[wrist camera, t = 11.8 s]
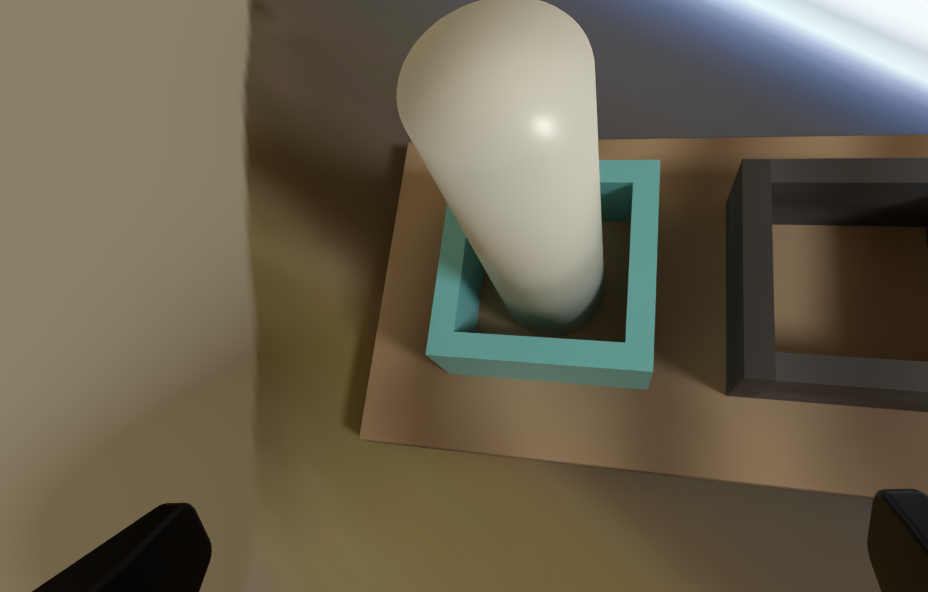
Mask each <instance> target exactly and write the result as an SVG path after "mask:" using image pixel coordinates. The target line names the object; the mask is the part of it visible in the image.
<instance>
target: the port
mask: <svg viewBox="0 0 928 592" xmlns="http://www.w3.org/2000/svg"><path fill="white" fill-rule="evenodd" d="M599 174H600V196H601V219H602V222H631V228H630V249H629V270H628V291H627V312H626V333H625V343H624V342H608V341H592V340H577V339H561V338H545V337H530V336H514V335H498V334H482V333H476V329H477V321H478V313H479V304H480V296H481V287H482V279H483V271H484V267H483V265H482V264H481V262H480V260H479V258H478V257H477V255H476V253H475V251H474V250H473V248H472V246H471V244H470V243H469V241H468V239H467V237H466V236H465V234H464V232H463V230H462V228H461V227H460V225H459V223H458V221H457V220H456V218H455V216H454V214H453V213H452V211H451V209H450V207H449V206H448V204H447V207H446V214H445V222H444V229H443V236H442V243H441V250H440V257H439V264H438V271H437V278H436V285H435V292H434V299H433V306H432V313H431V320H430V327H429V334H428V341H427V348H426V356H428V357H429V358H430V359H431V360H433V361H434V362H435V363H437V364H438V365H439V366H440V367H442V368H443V369H444V370H445V371H447V372H448V373H449V374H461V375H473V376H485V377H498V378H510V379H522V380H535V381H547V382H559V383H571V384H584V385H596V386H608V387H621V388H633V389H645V390H648V388H649V384H650V381H651V378H652V374H653V362H654V332H655V303H656V273H657V243H658V214H659V184H660V160H599Z"/></svg>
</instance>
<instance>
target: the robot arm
mask: <svg viewBox="0 0 928 592" xmlns="http://www.w3.org/2000/svg"><path fill="white" fill-rule="evenodd" d="M867 546H868V553H869V557H870V561H871V564H872V567H873V569H874V572H875V575H876V578H877V580H878V583H879V586H880V589H881V592H928V495H926V494H925V493H923V492H921V491H919V490H916V489H882V490H879V491H878V492H876V494H875V496H874V499H873V505H872V511H871V518H870V525H869V531H868V539H867ZM211 548H212V547H211V542H210V539H209V537H208V535H207V533H206V531H205V529H204V527H203V525H202V522H201V520H200V518H199V516H198V514H197V512H196V510H195V508H194V507H192V505H190V504H188V503H166V504H162V505H159V506H158V507H156V508H155V509H154V510H152V511H150V512H149V513H147V514H146V515H144V516H143V517H141V518H140V519H138V520H137V521H136V522H134V523H133V524H131V525H130V526H128V527H127V528H125V529H124V530H122V531H121V532H119V533H118V534H116V535H115V536H113V537H112V538H110V539H109V540H107V541H106V542H104V543H103V544H102V545H100V546H99V547H97V548H96V549H94V550H93V551H91V552H90V553H88V554H87V555H85V556H84V557H82V558H81V559H79V560H78V561H77V562H75V563H74V564H72V565H71V566H69V567H68V568H66V569H65V570H63V571H62V572H60V573H59V574H57V575H56V576H54V577H53V578H51V579H50V580H48V581H47V582H46V583H44V584H43V585H41V586H40V587H38V588H37V589H35V590H34V591H32V592H199V591H200V588H201V585H202V582H203V579H204V576H205V574H206V571H207V568H208V565H209V562H210V559H211V552H212V550H211Z"/></svg>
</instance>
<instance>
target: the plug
mask: <svg viewBox="0 0 928 592" xmlns="http://www.w3.org/2000/svg"><path fill="white" fill-rule="evenodd" d="M397 107H398V111H399V115H400V119H401V121H402V123H403V126H404V128H405V130H406V132H407V133H408V135H409V137H410V139H411V140H412V142H413V144H414V146H415V147H416V149H417V151H418V153H419V154H420V156H421V158H422V160H423V162H424V163H425V165H426V167H427V169H428V170H429V172H430V174H431V176H432V177H433V179H434V181H435V183H436V184H437V186H438V188H439V190H440V191H441V193H442V195H443V197H444V199H445V200H446V202H447V204H448V206H449V207H450V209H451V211H452V213H453V214H454V216H455V218H456V220H457V221H458V223H459V225H460V227H461V228H462V230H463V232H464V234H465V236H466V237H467V239H468V241H469V243H470V244H471V246H472V248H473V250H474V251H475V253H476V255H477V257H478V258H479V260H480V262H481V264H482V265H483V267H484V269H485V271H486V273H487V274H488V276H489V278H490V280H491V281H492V283H493V285H494V287H495V288H496V290H497V292H498V294H499V295H500V297H501V299H502V301H503V302H504V304H505V306H506V308H507V310H508V311H509V313H510V314H511V316H512V317H513V319H514V320H515V321H516V322H517V323H518V324H519V325H520V326H522V327H523V328H525V329H526V330H528V331H530V332H532V333H535V334H538V335H542V336H550V337H554V336H563V335H567V334H570V333H573V332H575V331H577V330H579V329H581V328H582V327H584V326H585V325H586V324H587V323H589V322H590V321H591V320H592V319H593V317H594V316H595V315H596V313H597V312H598V310H599V308H600V306H601V303H602V301H603V296H604V288H605V287H604V264H603V241H602V219H601V196H600V174H599V151H598V128H597V106H596V83H595V64H594V56H593V52H592V48H591V45H590V43H589V41H588V38H587V36H586V35H585V33H584V32H583V30H582V28H581V27H580V26H579V25H578V24H577V23H576V22H575V20H573V19H572V18H571V17H570V16H569V15H568V14H566V13H565V12H563V11H562V10H560V9H559V8H557V7H555V6H553V5H551V4H548V3H546V2H543V1H540V0H480V1H477V2H473V3H471V4H468V5H465V6H463V7H461V8H459V9H457V10H455V11H453V12H451V13H449V14H448V15H446V16H444V17H443V18H441V19H440V20H439V21H437V22H436V23H435V24H434V25H432V26H431V27H430V28H429V29H428V30H427V31H426V32H425V33H424V34H423V35H422V36H421V37H420V38H419V39H418V41H417V42H416V43H415V44H414V46H413V47H412V49H411V50H410V52H409V54H408V55H407V57H406V59H405V62H404V64H403V66H402V69H401V72H400V75H399V79H398V85H397Z"/></svg>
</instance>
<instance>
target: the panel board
mask: <svg viewBox="0 0 928 592" xmlns="http://www.w3.org/2000/svg"><path fill="white" fill-rule="evenodd" d="M598 151H599V160H660V184H659V214H658V243H657V273H656V303H655V332H654V362H653V374H652V378H651V381H650V384H649V388H648V390H645V389H633V388H621V387H608V386H596V385H584V384H571V383H559V382H547V381H535V380H522V379H510V378H498V377H485V376H473V375H461V374H449V373H448V372H447V371H445V370H444V369H443V368H442V367H440V366H439V365H438V364H437V363H435V362H434V361H433V360H431V359H430V358H429V357H428V356H426V348H427V341H428V334H429V327H430V320H431V313H432V306H433V299H434V292H435V285H436V278H437V271H438V264H439V257H440V250H441V243H442V236H443V229H444V222H445V214H446V207H447V202H446V200H445V199H444V197H443V195H442V193H441V191H440V190H439V188H438V186H437V184H436V183H435V181H434V179H433V177H432V176H431V174H430V172H429V170H428V169H427V167H426V165H425V163H424V162H423V160H422V158H421V156H420V154H419V153H418V151H417V149H416V147H415V146H414V144H413V143H408V148H407V154H406V160H405V166H404V172H403V178H402V184H401V190H400V196H399V202H398V208H397V214H396V220H395V226H394V232H393V238H392V244H391V250H390V256H389V262H388V268H387V274H386V280H385V286H384V292H383V298H382V304H381V310H380V316H379V322H378V328H377V334H376V340H375V346H374V352H373V358H372V364H371V370H370V376H369V382H368V388H367V394H366V400H365V406H364V412H363V418H362V424H361V430H360V436H359V439H362V440H366V441H370V442H379V443H388V444H397V445H405V446H414V447H423V448H432V449H441V450H449V451H458V452H467V453H476V454H485V455H493V456H502V457H511V458H520V459H529V460H537V461H546V462H555V463H564V464H573V465H581V466H590V467H599V468H608V469H617V470H626V471H634V472H643V473H652V474H661V475H670V476H678V477H687V478H696V479H705V480H714V481H722V482H731V483H740V484H749V485H758V486H766V487H775V488H784V489H793V490H802V491H810V492H819V493H828V494H837V495H846V496H855V497H863V498H872V499H874V496H875V494H876V492H878V491H879V490H882V489H916V490H919V491H921V492H923V493H925V494H926V495H928V135H879V136H814V137H748V138H683V139H618V140H598ZM630 228H631V222H602V241H603V264H604V287H605V288H604V296H603V301H602V303H601V306H600V308H599V310H598V312H597V313H596V315H595V316H594V317H593V319H592V320H591V321H590V322H589V323H587V324H586V325H585V326H584V327H582V328H581V329H579V330H577V331H575V332H573V333H570V334H567V335H563V336H554V337H550V336H542V335H538V334H535V333H532V332H530V331H528V330H526V329H525V328H523V327H522V326H520V325H519V324H518V323H517V322H516V321H515V320H514V319H513V317H512V316H511V314H510V313H509V311H508V310H507V308H506V306H505V304H504V302H503V301H502V299H501V297H500V295H499V294H498V292H497V290H496V288H495V287H494V285H493V283H492V281H491V280H490V278H489V276H488V274H487V273H486V271H485V269H484V271H483V279H482V287H481V296H480V304H479V313H478V321H477V329H476V333H482V334H498V335H514V336H530V337H545V338H561V339H577V340H592V341H608V342H624V343H625V333H626V312H627V291H628V270H629V249H630Z"/></svg>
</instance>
